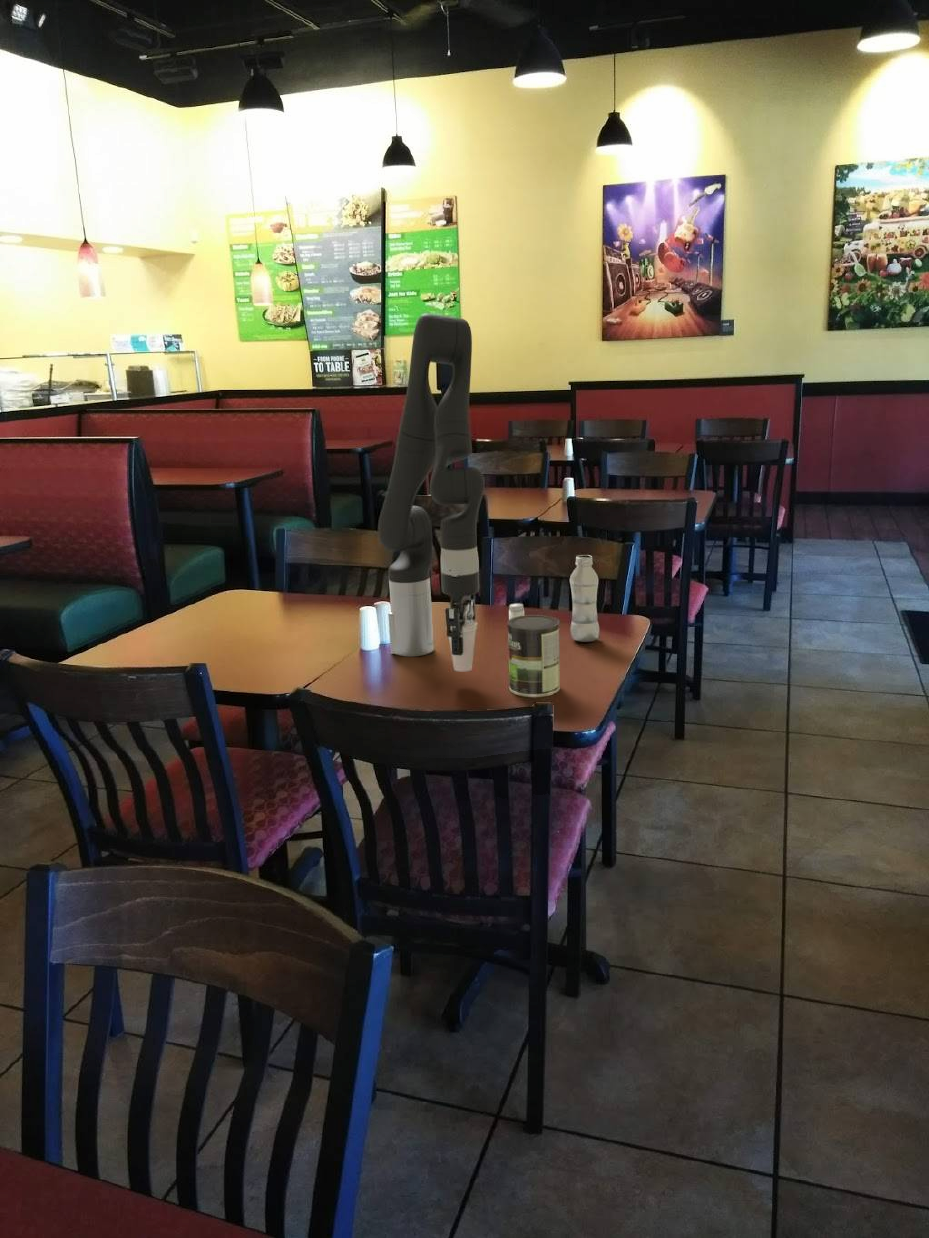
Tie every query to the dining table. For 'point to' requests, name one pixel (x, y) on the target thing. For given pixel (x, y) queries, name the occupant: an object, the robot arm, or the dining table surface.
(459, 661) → the smoothie
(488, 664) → the dining table surface
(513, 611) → the salt shaker
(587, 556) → the plastic bottle
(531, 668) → the coffee can
